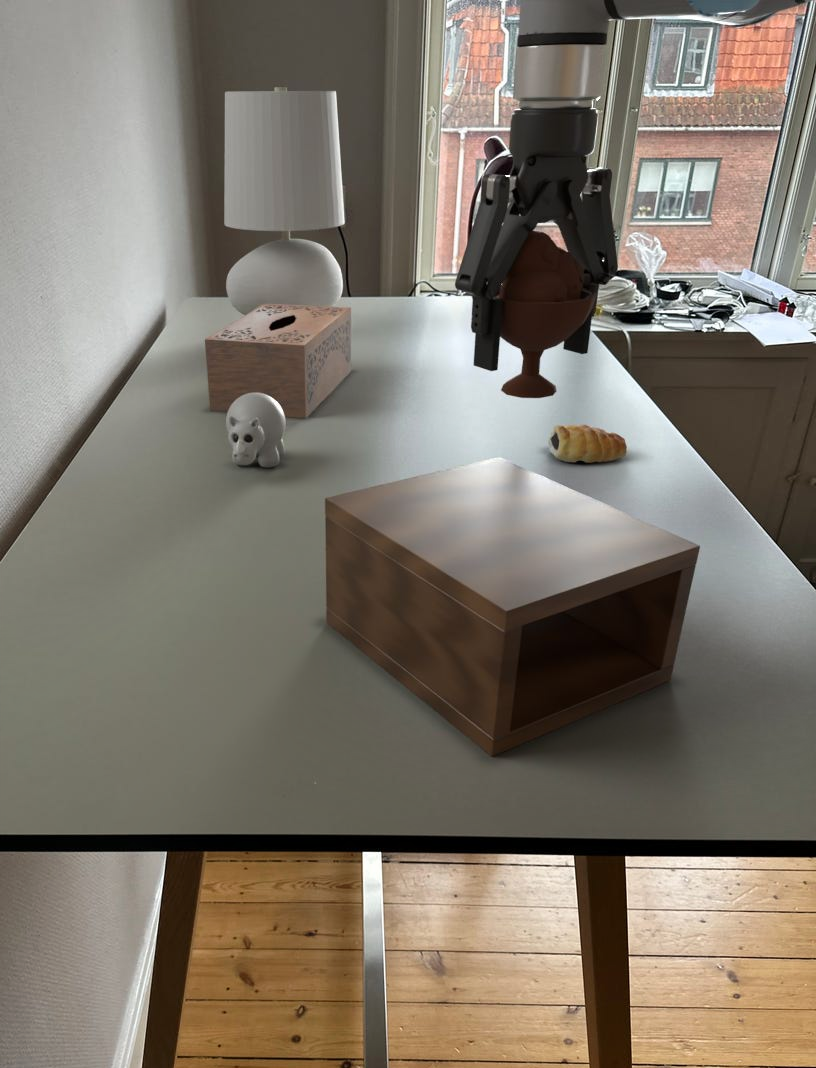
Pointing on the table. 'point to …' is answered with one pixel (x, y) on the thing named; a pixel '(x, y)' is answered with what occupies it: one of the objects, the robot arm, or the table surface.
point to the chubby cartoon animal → (256, 430)
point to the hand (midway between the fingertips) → (531, 359)
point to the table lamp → (283, 195)
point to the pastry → (585, 444)
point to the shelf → (505, 596)
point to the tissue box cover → (280, 356)
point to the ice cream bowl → (541, 308)
